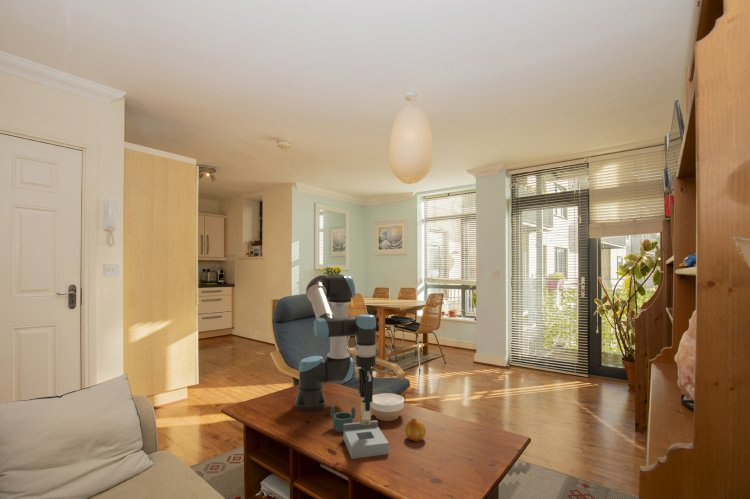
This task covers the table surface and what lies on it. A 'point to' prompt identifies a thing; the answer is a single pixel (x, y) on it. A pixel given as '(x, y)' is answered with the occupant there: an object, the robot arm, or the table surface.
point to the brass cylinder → (362, 421)
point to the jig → (364, 440)
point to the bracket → (342, 418)
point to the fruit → (415, 430)
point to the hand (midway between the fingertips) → (365, 416)
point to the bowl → (387, 406)
